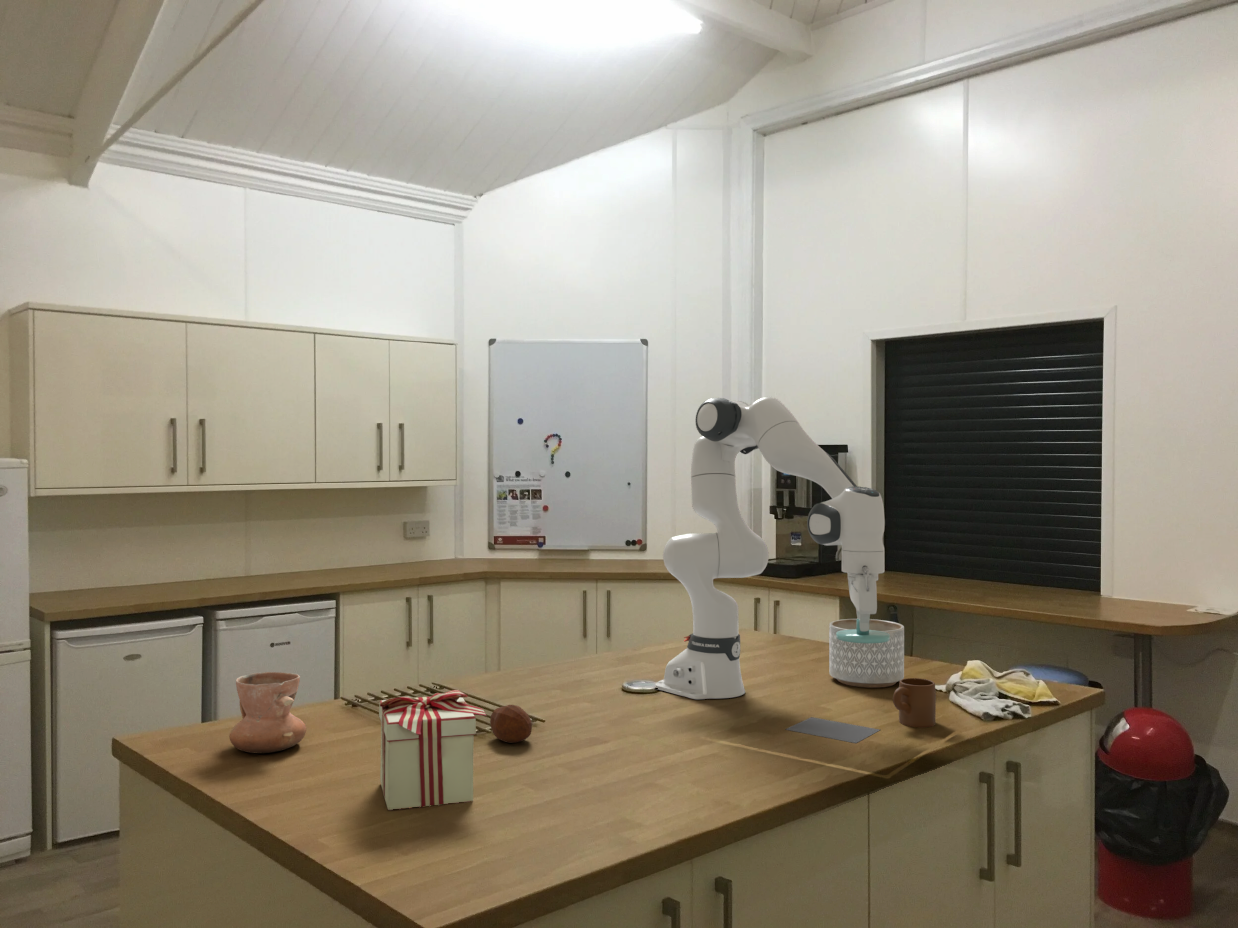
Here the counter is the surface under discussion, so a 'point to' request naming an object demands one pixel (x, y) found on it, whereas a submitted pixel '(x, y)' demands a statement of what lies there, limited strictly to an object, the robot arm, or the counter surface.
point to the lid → (862, 635)
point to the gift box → (427, 749)
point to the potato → (511, 724)
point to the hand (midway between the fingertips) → (863, 629)
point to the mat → (833, 730)
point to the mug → (916, 702)
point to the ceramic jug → (267, 713)
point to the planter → (867, 655)
